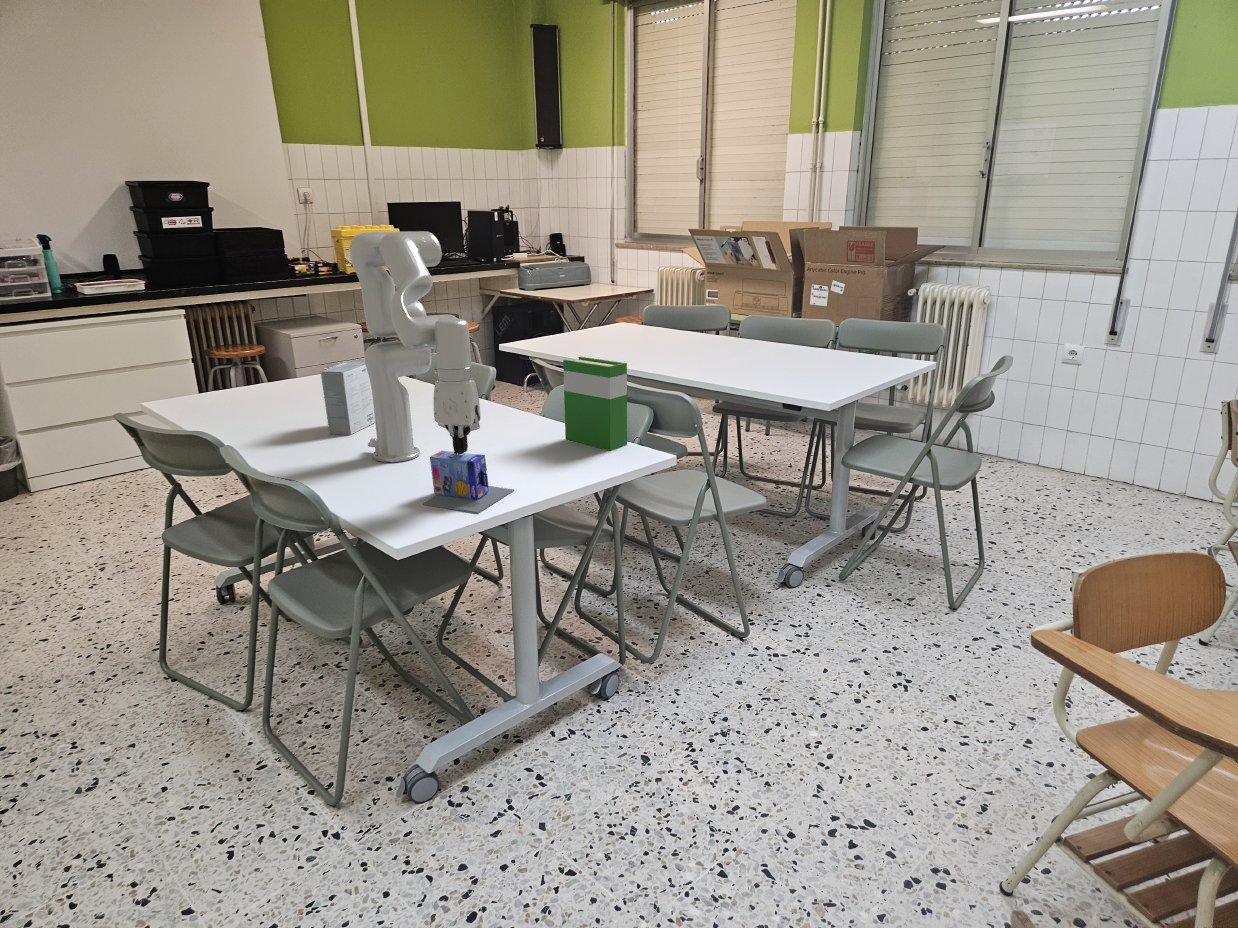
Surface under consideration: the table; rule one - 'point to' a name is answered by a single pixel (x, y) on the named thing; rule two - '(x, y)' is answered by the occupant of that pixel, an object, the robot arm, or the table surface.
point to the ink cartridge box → (459, 474)
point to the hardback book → (595, 402)
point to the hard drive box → (347, 398)
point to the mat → (469, 501)
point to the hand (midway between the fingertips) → (460, 452)
